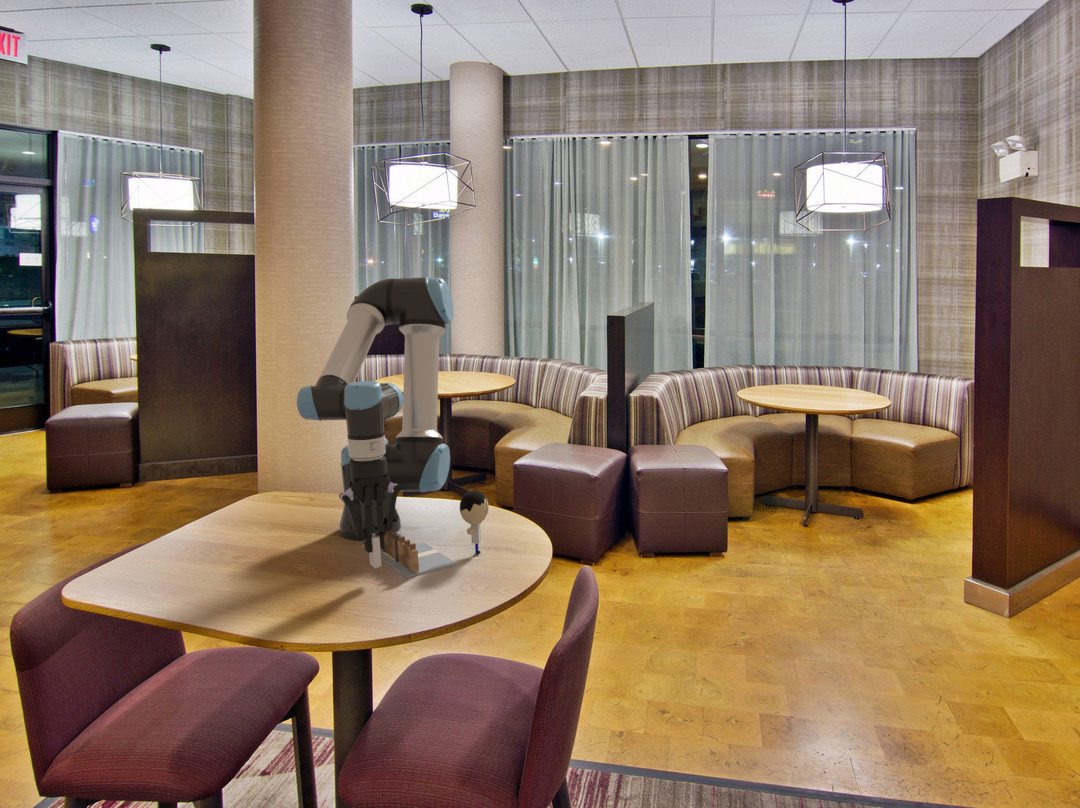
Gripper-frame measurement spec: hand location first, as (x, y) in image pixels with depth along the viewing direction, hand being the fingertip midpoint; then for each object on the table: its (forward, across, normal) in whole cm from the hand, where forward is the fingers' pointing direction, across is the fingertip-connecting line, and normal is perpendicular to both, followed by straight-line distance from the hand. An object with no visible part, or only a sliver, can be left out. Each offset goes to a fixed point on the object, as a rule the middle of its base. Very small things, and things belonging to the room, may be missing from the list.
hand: (375, 565), depth 162 cm
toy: (+4, +24, +1) cm, 25 cm away
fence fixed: (+4, +8, +11) cm, 14 cm away
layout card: (+4, +12, +6) cm, 14 cm away
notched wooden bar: (+3, +8, +2) cm, 9 cm away
